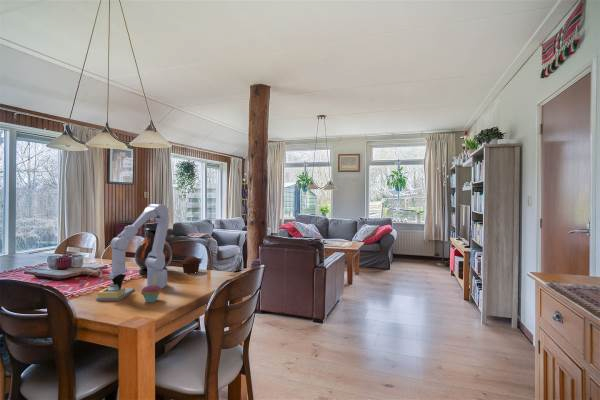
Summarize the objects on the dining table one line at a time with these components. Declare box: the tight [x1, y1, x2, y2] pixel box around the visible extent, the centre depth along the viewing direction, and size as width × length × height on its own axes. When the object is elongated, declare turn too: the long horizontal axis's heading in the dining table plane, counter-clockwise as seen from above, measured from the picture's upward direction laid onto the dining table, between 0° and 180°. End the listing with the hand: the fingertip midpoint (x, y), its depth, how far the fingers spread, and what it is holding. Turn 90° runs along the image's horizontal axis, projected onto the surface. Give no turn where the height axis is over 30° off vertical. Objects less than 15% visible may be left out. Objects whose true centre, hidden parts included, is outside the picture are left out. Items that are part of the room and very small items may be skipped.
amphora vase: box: [134, 226, 173, 275], centre depth 200 cm, size 22×22×28 cm
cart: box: [107, 283, 119, 292], centre depth 148 cm, size 6×4×4 cm
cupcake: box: [140, 274, 162, 303], centre depth 146 cm, size 9×8×12 cm
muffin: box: [181, 255, 201, 274], centre depth 203 cm, size 12×11×10 cm
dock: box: [96, 287, 135, 302], centre depth 152 cm, size 10×16×4 cm, turn 5°
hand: (117, 290), depth 153 cm, fingers closed
